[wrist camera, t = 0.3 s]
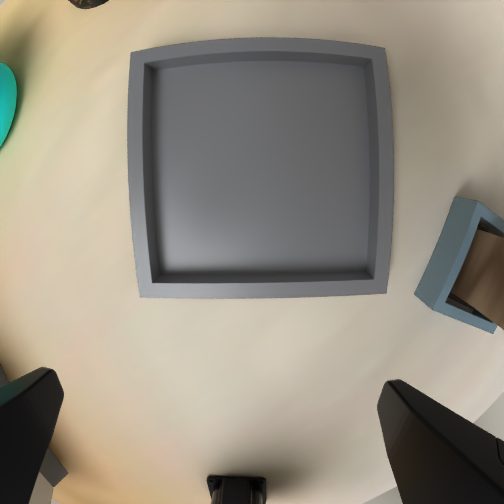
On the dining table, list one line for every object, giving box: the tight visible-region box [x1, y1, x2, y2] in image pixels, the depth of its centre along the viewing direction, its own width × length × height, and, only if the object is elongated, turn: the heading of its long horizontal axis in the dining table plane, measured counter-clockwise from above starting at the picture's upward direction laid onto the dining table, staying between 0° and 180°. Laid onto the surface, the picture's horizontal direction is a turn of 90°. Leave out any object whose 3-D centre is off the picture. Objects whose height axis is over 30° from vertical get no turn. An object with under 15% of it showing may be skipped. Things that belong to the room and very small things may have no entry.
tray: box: [127, 38, 394, 299], centre depth 18 cm, size 16×16×2 cm
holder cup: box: [414, 197, 504, 334], centre depth 19 cm, size 8×8×3 cm
